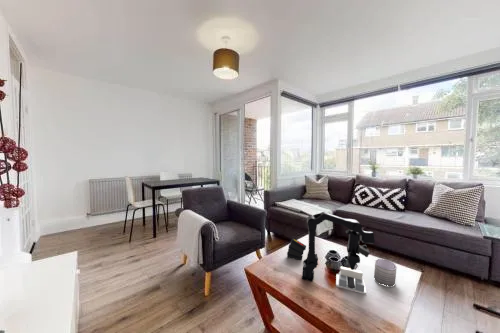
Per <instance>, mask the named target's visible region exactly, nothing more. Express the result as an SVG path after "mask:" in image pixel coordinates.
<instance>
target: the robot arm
mask: <svg viewBox="0 0 500 333" xmlns="http://www.w3.org/2000/svg"><path fill="white" fill-rule="evenodd" d="M324 221H328V222H331V223H334V224H338V225H341V226H344V227H345V228H348V229H346V230H345V233H346V234H347V235H348V242H347V244H346V252H347V262H348V264H349V268H351V270H355V267H356V265H357V264H360V263H361V257H360V256H359V255H360V254H361V255H362V256H364V257H365V258H368V257H369V255H370V249H369V248H368V247H367V245H366V244H371V245H374V244H375V243H376V242H375V241H376V239H375V235H374V232H373V231H365V230H363V229H362V228H363V225H361V223H360V222H359V221H358V220H357V219H354V218H353V219H352V218H345V217H341V216H338V215H335V214H332V213H328V212H326V211H322V212H320V213H316V214H314V215H309V216H308V217H307V218H306V223H307V224H306V225H307V229H308V253H307V256H306V259H304V260H303V261H302V263H303V265H302V275H301V279H302V280H304V281H309V282H313V280H314V278H315V269H317V267H318V266H319V257H318V254H317V253H316V248H315V247H316V231H317V226H318V225H320V224H322V222H324ZM360 241H361V242H362V244H363V243H364V244H363V245H360Z"/></svg>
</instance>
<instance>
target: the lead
mask: <svg viewBox="0 0 500 333" xmlns="http://www.w3.org/2000/svg"><path fill="white" fill-rule="evenodd" d="M349 268H350V269H351V267H349ZM347 279H348V286H349V288H352V289H353V288H354V287H355V284H354V278H352V277H348V276H347Z"/></svg>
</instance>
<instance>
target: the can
mask: <svg viewBox="0 0 500 333" xmlns="http://www.w3.org/2000/svg"><path fill="white" fill-rule="evenodd" d="M397 269H398V266H397V265H396V264H395V263H394V262H393V261H391V260H388V259H384V258H377V259H375V260H374V271H373V272H374V273H373V274H374V275H373V279H374V278H375V280H376V281H377V282H378V283H380V284H384V285H386V286H387V285H388V286H393V285H394V284H395V285H396V280H397V279H396V278H397ZM375 280H374V281H375ZM376 281H375V282H376ZM377 282H376V283H377ZM378 283H377V284H378ZM380 284H379V285H380Z"/></svg>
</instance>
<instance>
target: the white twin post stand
mask: <svg viewBox="0 0 500 333" xmlns="http://www.w3.org/2000/svg"><path fill="white" fill-rule="evenodd" d="M335 277H336V278H335V279H336V280H335V285H336V286H335V287H336V288H341V289H345V290H347V291H352V292H356V293H360V294H363V293H364V294H363V295H366V294H368V292H367V287H366V283H365V280H364V278H363V277H362V280H360V279H356V278H354V284H355V287H354V288H353V289H352V288H349V286H348V279H347V276H344V275H340V271H339V272H338V273H336V276H335Z"/></svg>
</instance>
